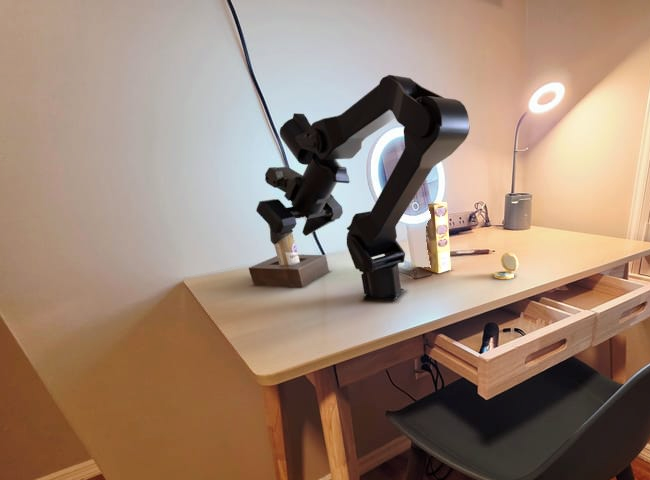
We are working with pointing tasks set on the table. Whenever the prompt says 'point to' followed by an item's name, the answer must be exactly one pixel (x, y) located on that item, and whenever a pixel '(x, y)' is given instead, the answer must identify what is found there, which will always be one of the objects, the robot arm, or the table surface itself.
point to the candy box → (438, 238)
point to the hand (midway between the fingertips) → (289, 238)
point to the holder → (289, 271)
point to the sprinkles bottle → (287, 251)
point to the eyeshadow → (507, 266)
